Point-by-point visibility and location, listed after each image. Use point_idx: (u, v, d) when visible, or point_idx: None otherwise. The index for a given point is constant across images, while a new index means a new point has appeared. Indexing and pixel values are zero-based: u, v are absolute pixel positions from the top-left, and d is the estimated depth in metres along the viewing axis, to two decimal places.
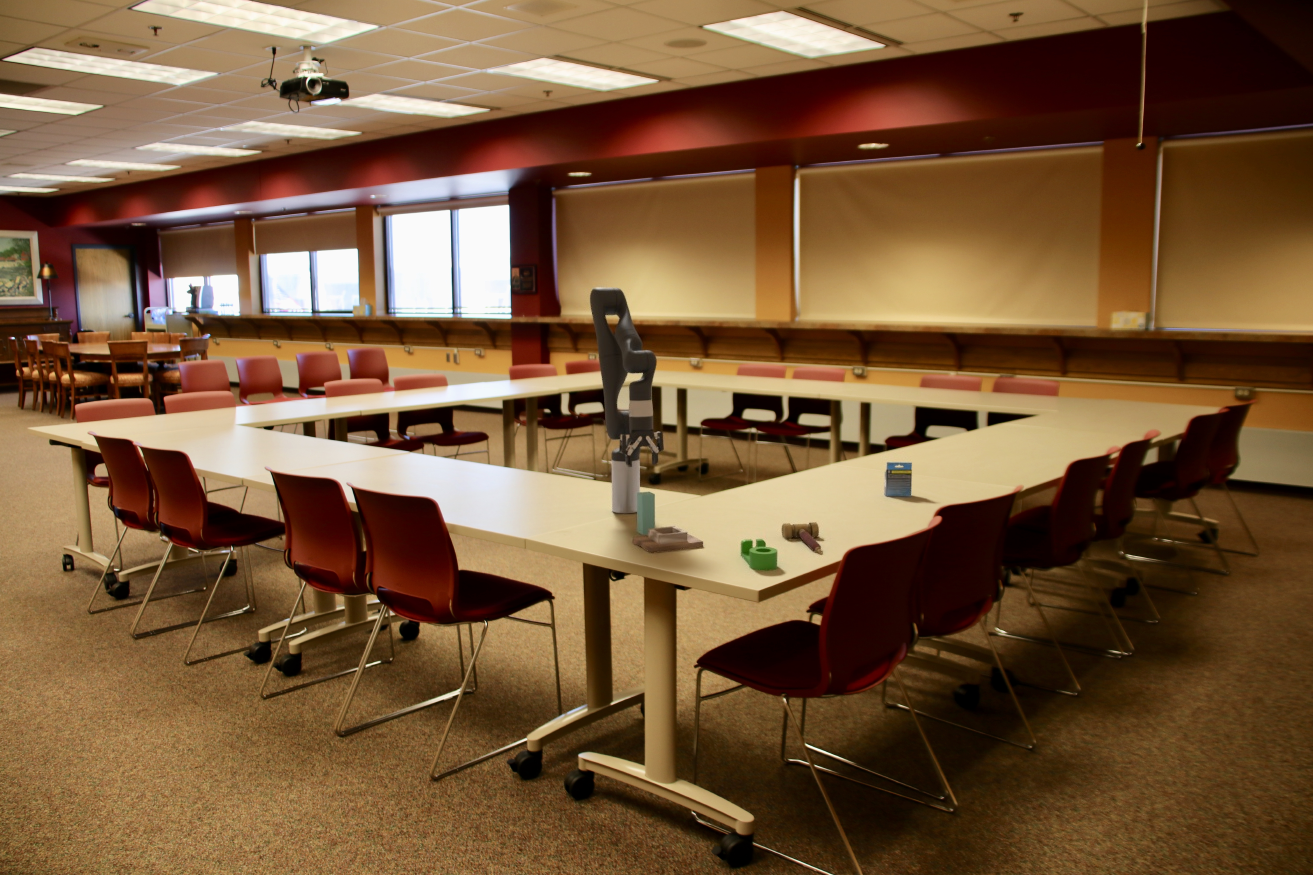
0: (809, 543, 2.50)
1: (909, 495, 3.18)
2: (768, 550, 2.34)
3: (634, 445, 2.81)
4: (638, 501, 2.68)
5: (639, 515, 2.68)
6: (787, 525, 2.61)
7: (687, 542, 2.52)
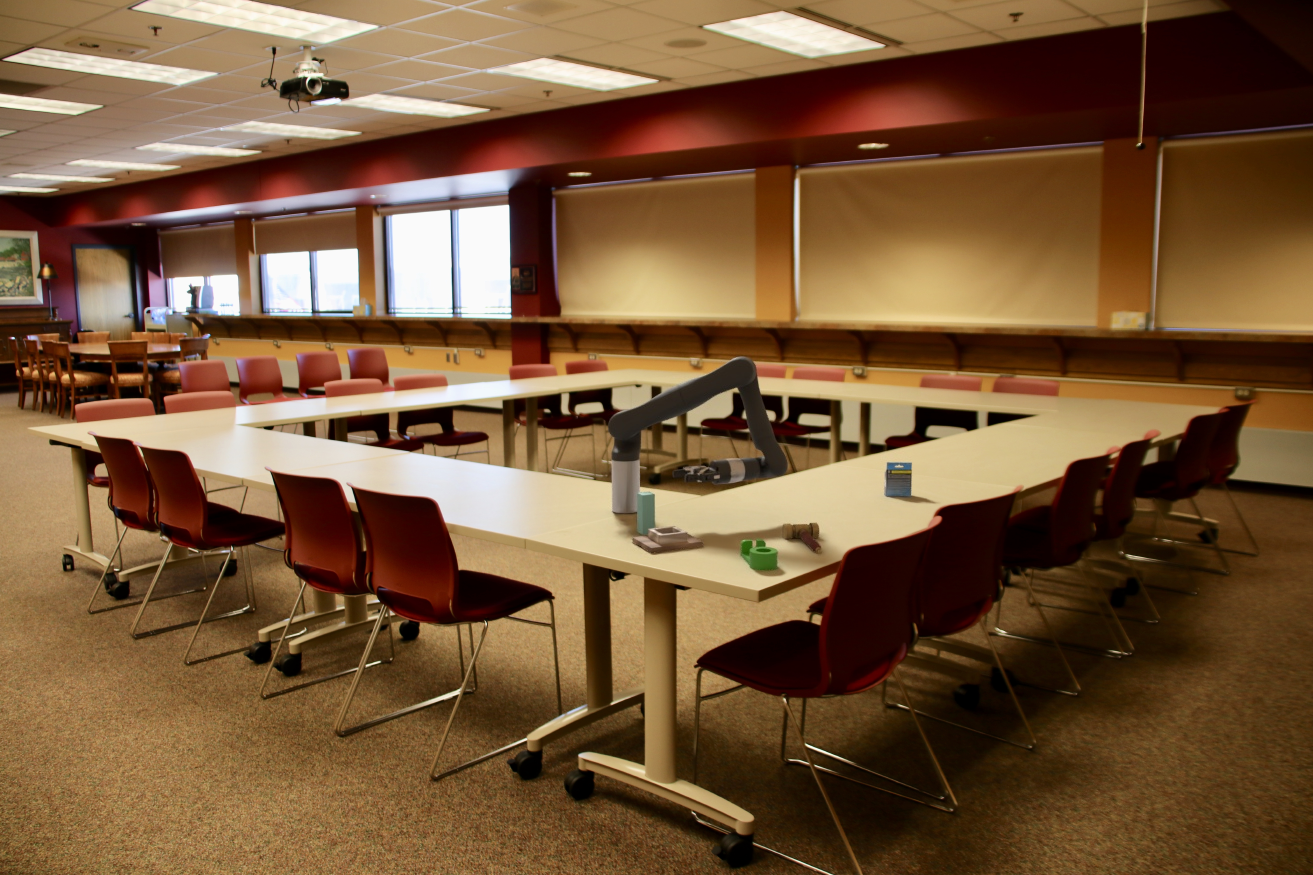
0: (809, 543, 2.50)
1: (909, 495, 3.18)
2: (768, 550, 2.34)
3: None
4: (638, 501, 2.68)
5: (639, 515, 2.68)
6: (787, 525, 2.60)
7: (687, 542, 2.52)
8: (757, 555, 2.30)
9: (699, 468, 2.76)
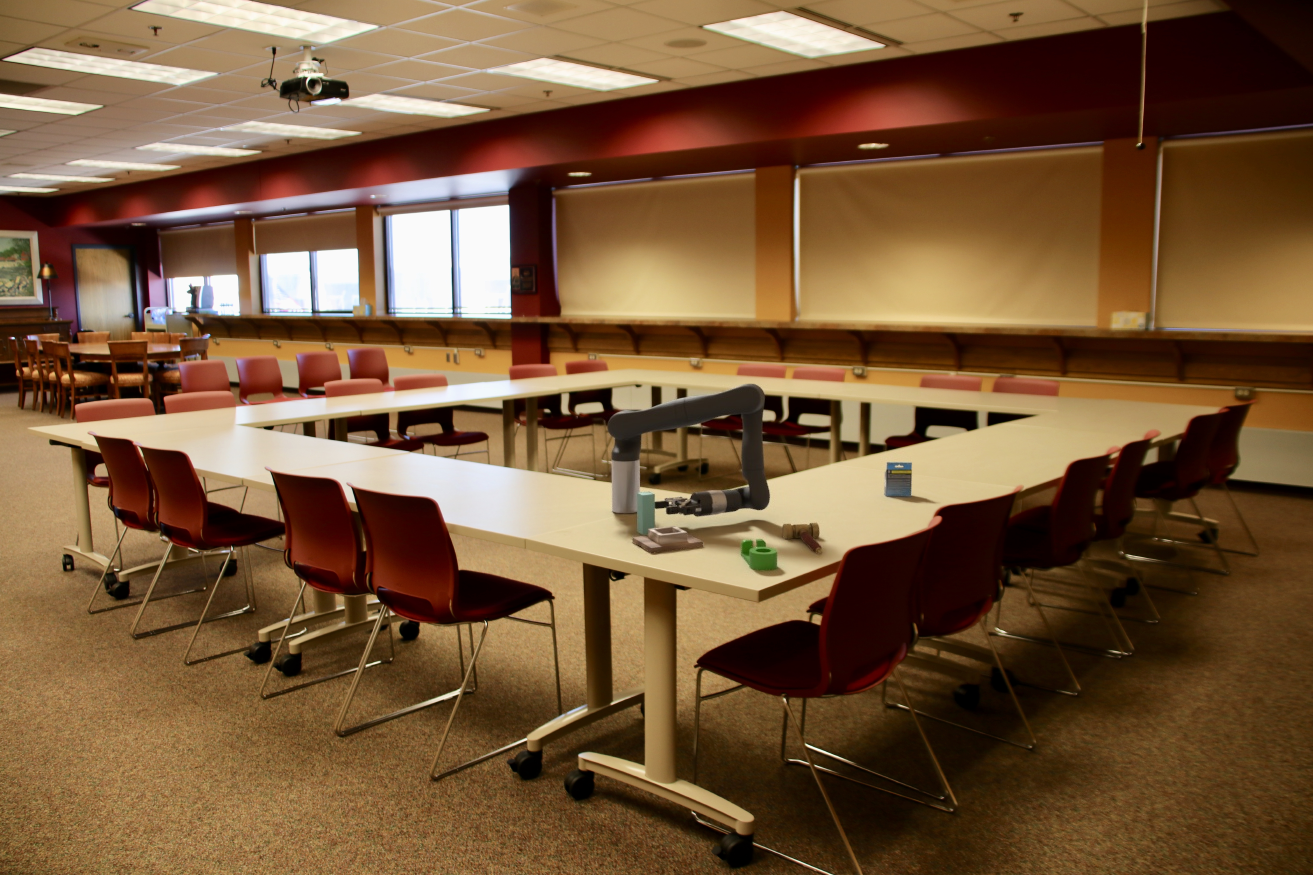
0: (809, 544, 2.49)
1: (909, 495, 3.18)
2: (768, 550, 2.34)
3: None
4: (638, 501, 2.68)
5: (639, 515, 2.68)
6: (788, 525, 2.60)
7: (687, 542, 2.52)
8: (757, 555, 2.30)
9: (681, 500, 2.74)
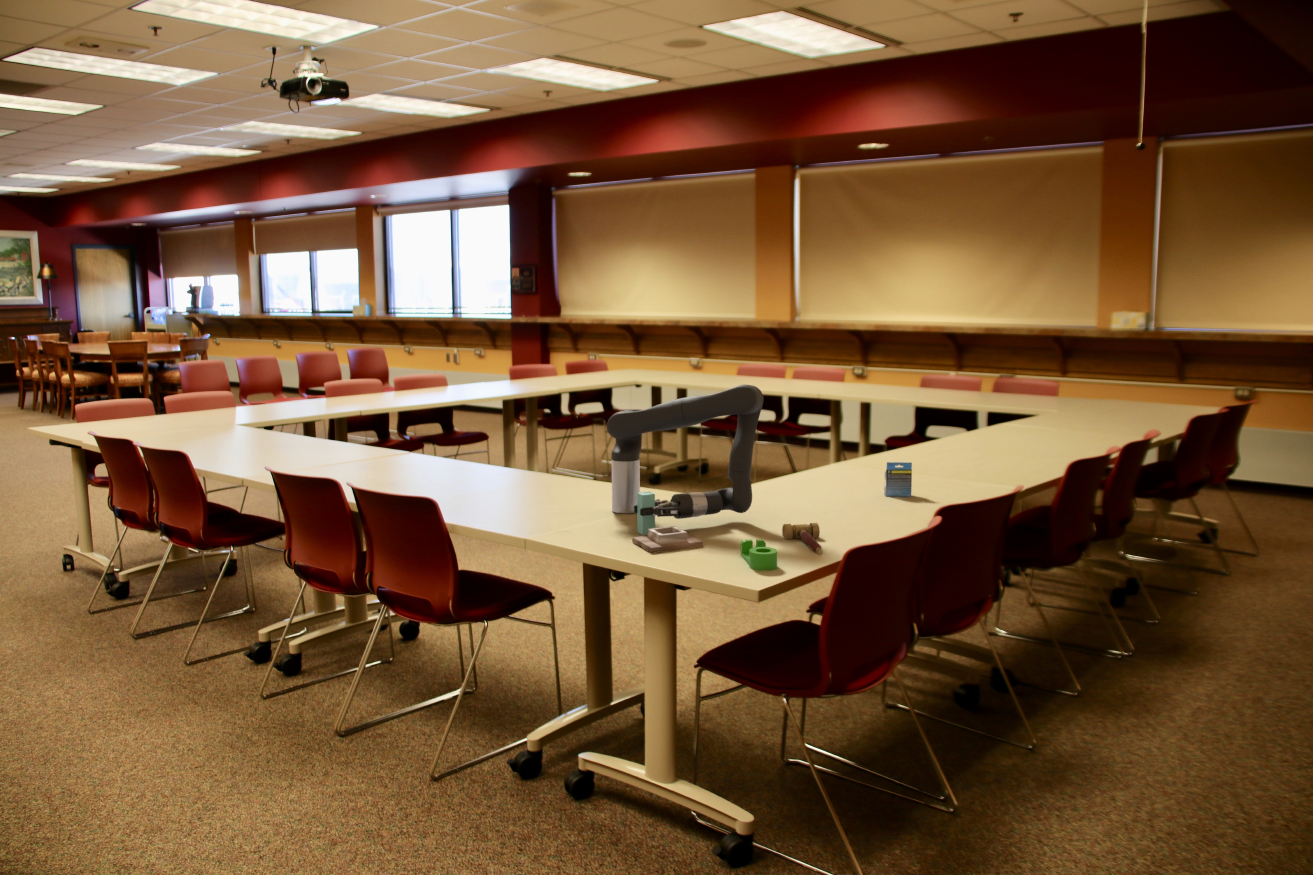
0: (810, 544, 2.49)
1: (909, 495, 3.18)
2: (768, 550, 2.34)
3: None
4: (638, 501, 2.68)
5: (639, 515, 2.68)
6: (788, 526, 2.60)
7: (687, 542, 2.52)
8: (757, 555, 2.30)
9: (662, 503, 2.71)
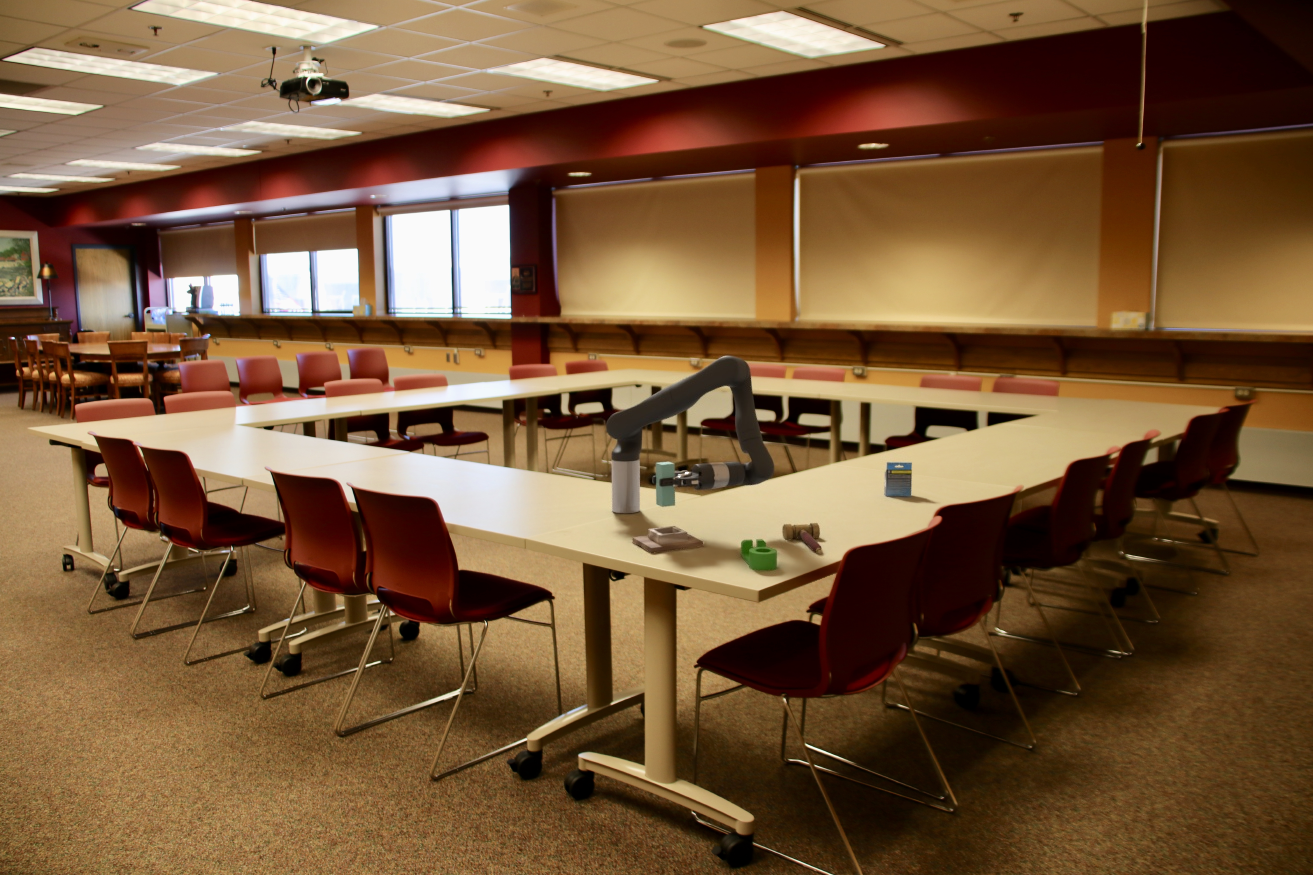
0: (810, 544, 2.49)
1: (909, 495, 3.18)
2: (768, 550, 2.34)
3: None
4: (657, 471, 2.55)
5: (658, 486, 2.55)
6: (788, 526, 2.60)
7: (687, 542, 2.52)
8: (756, 555, 2.29)
9: (681, 473, 2.58)
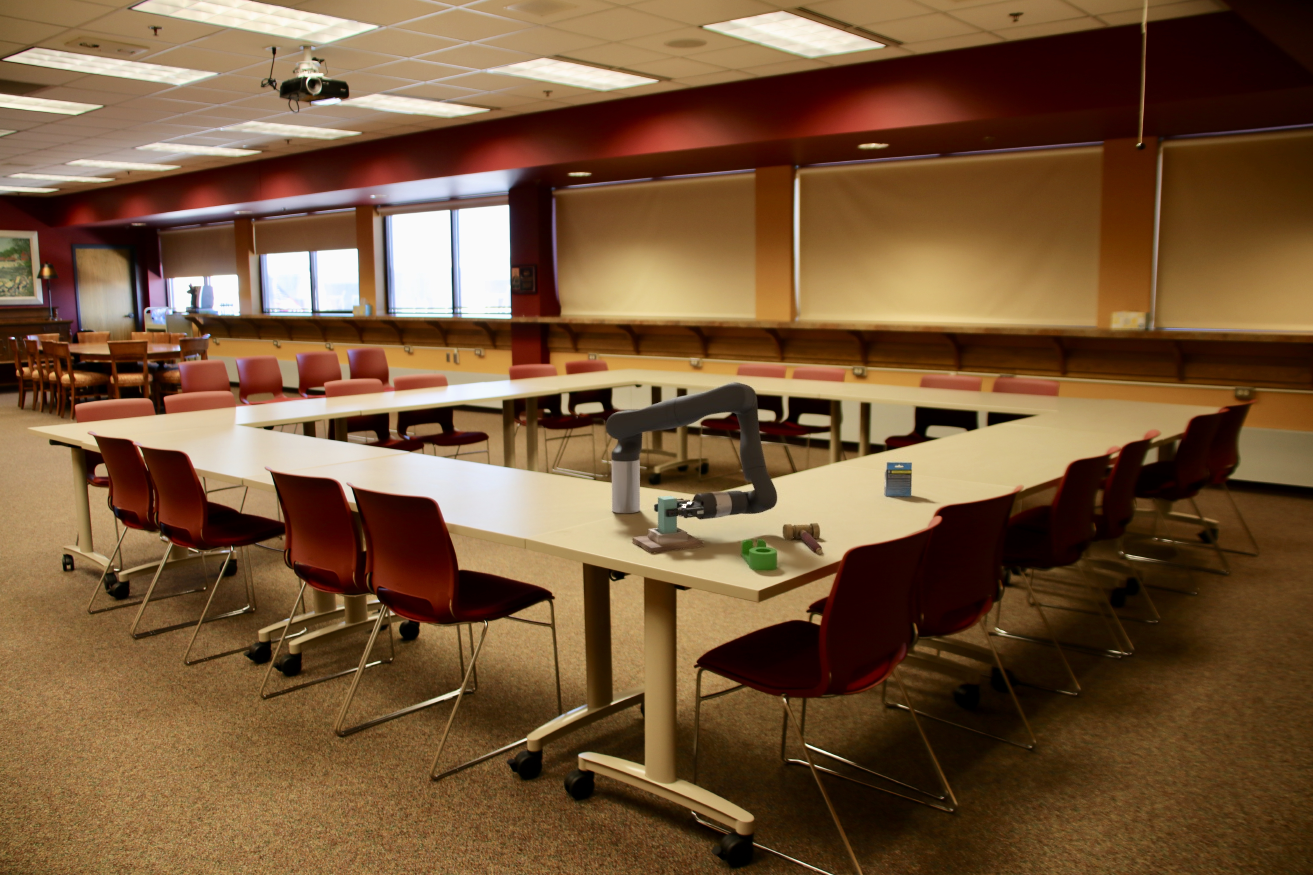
0: (810, 544, 2.49)
1: (909, 495, 3.18)
2: (768, 550, 2.34)
3: None
4: (659, 506, 2.54)
5: (660, 521, 2.54)
6: (788, 526, 2.60)
7: (687, 542, 2.52)
8: (756, 555, 2.29)
9: (683, 502, 2.58)
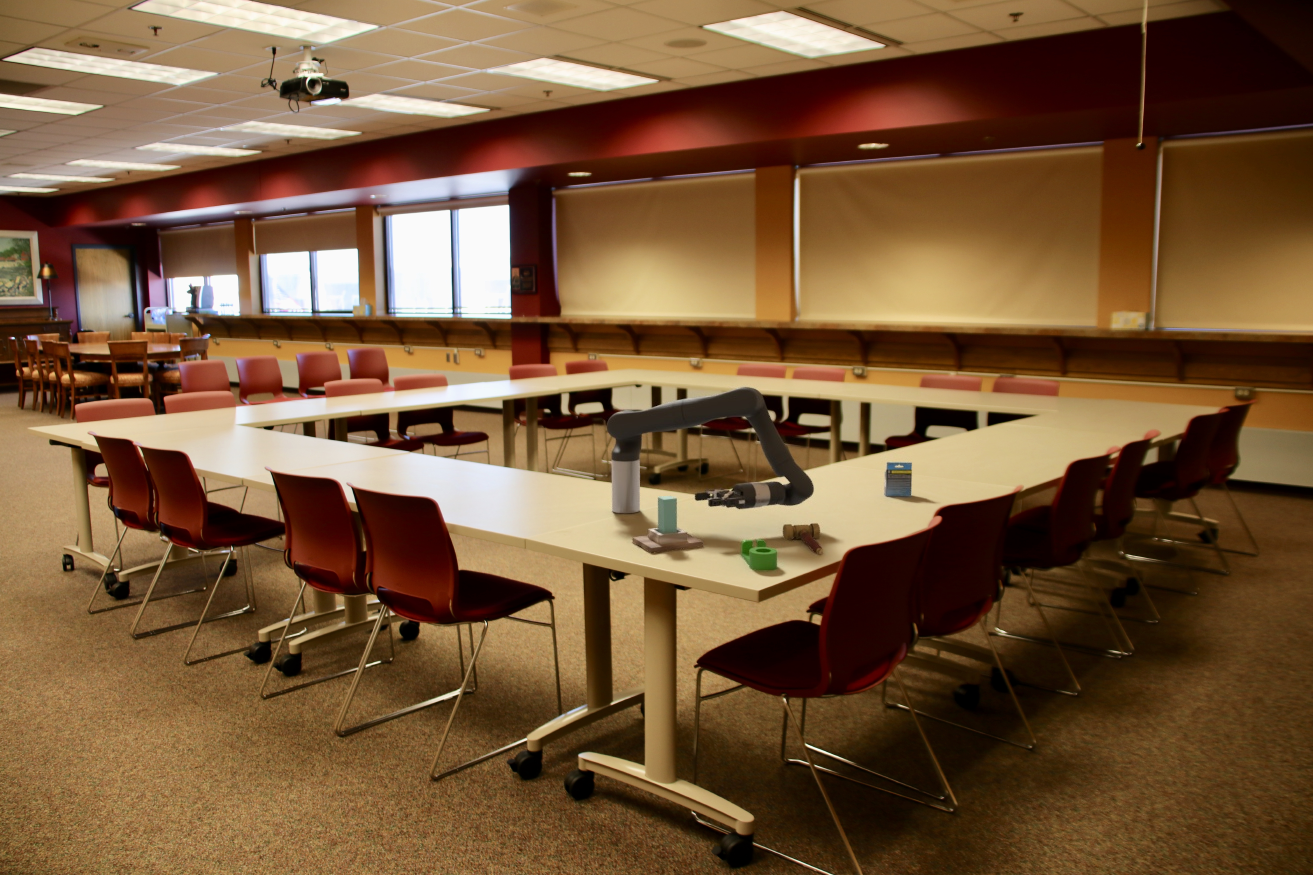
0: (810, 544, 2.49)
1: (909, 495, 3.18)
2: (768, 550, 2.34)
3: None
4: (659, 506, 2.54)
5: (660, 521, 2.54)
6: (788, 526, 2.60)
7: (687, 542, 2.52)
8: (756, 555, 2.29)
9: (722, 492, 2.64)
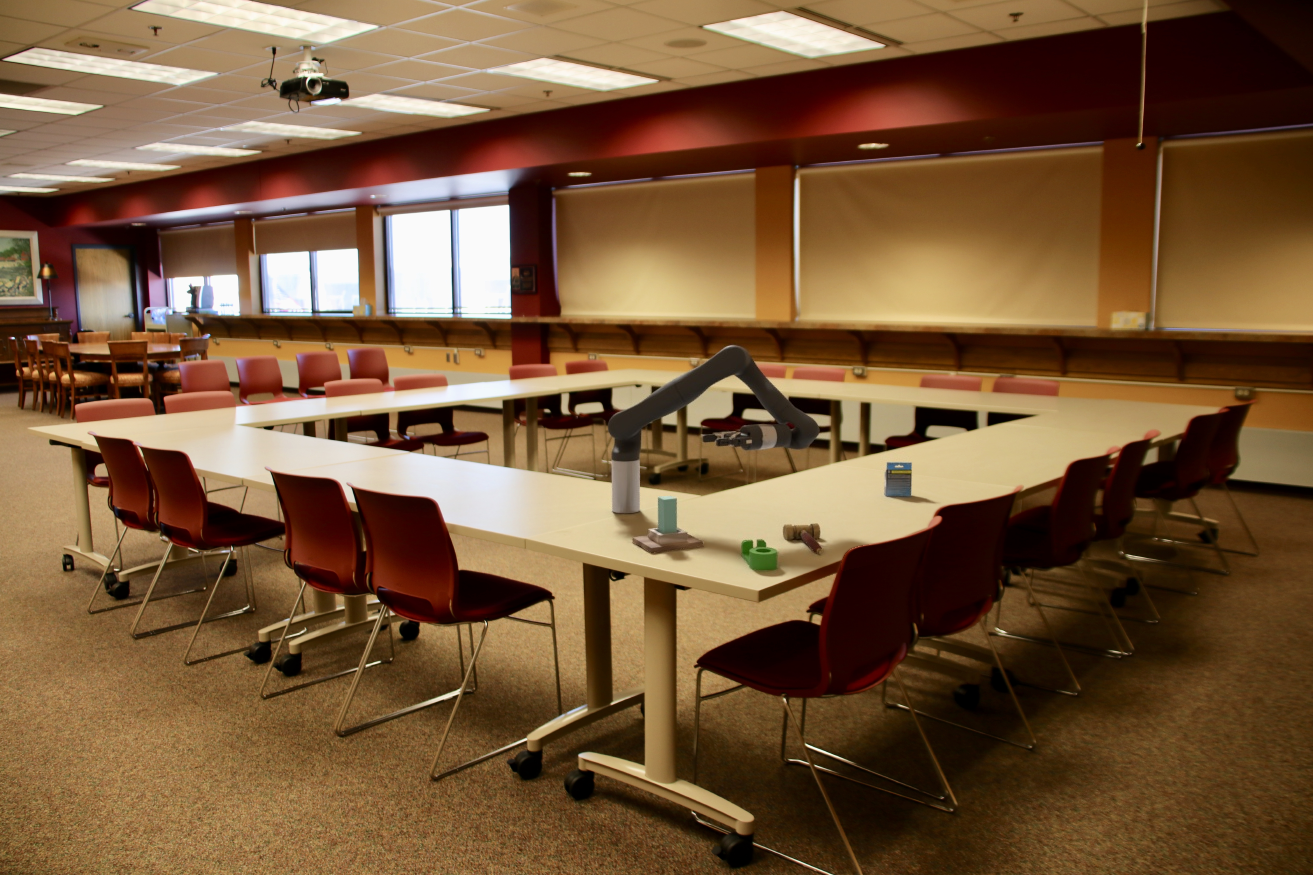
0: (810, 544, 2.49)
1: (909, 495, 3.18)
2: (768, 550, 2.34)
3: None
4: (659, 506, 2.54)
5: (660, 521, 2.54)
6: (788, 526, 2.59)
7: (687, 542, 2.52)
8: (756, 555, 2.29)
9: (730, 434, 2.67)
